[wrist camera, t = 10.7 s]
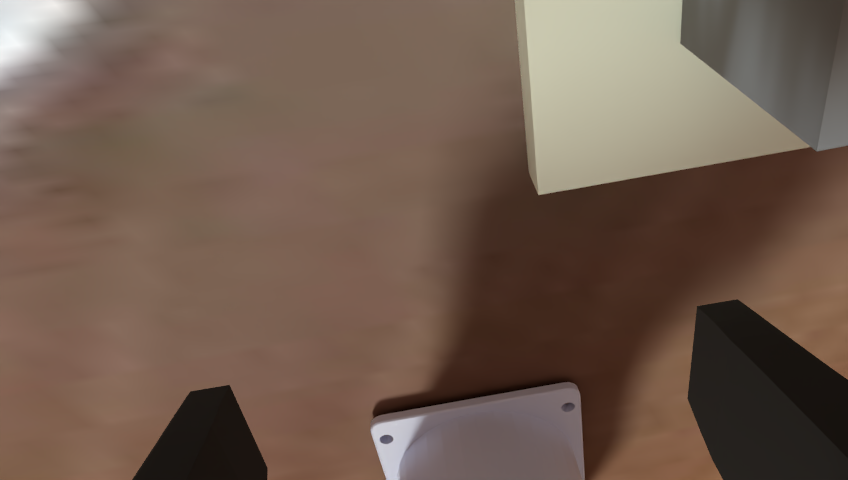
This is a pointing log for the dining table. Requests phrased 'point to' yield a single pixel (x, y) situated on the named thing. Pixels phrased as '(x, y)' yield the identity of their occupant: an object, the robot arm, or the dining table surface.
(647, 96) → the cream square slab
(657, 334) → the dining table surface
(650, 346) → the dining table surface
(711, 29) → the slate block
